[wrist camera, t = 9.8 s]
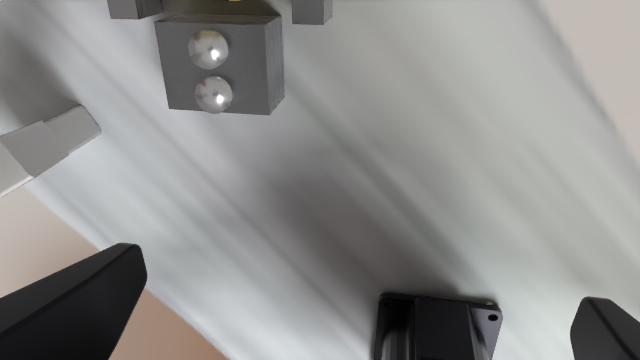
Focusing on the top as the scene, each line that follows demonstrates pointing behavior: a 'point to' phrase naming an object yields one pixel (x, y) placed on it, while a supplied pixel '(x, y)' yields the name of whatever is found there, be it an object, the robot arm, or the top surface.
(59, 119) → the grey angular piece
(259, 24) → the studded rectangular link
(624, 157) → the top surface
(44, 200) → the top surface
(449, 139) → the top surface
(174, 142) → the top surface
